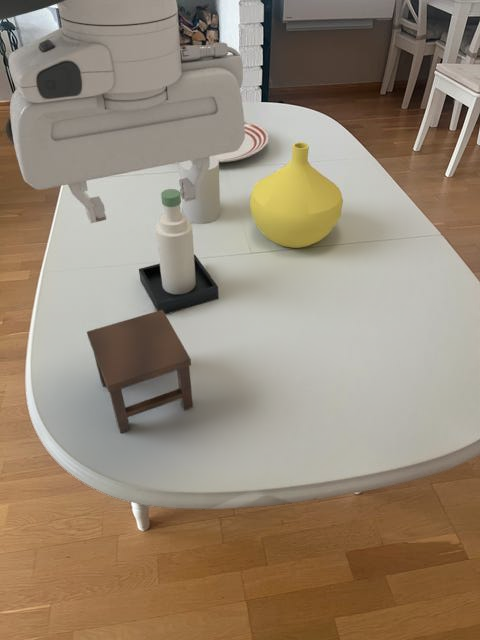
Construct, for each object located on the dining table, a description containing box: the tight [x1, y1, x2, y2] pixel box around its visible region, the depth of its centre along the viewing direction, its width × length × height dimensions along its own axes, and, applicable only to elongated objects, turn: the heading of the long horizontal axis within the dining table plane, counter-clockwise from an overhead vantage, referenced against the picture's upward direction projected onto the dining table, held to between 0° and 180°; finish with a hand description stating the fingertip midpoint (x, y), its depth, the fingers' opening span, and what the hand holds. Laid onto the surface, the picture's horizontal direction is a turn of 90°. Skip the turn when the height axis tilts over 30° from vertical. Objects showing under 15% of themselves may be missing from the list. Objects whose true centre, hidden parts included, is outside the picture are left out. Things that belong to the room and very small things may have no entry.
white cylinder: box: [178, 156, 221, 225], centre depth 110 cm, size 8×8×12 cm
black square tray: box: [138, 253, 219, 315], centre depth 93 cm, size 11×11×3 cm
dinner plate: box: [214, 119, 270, 164], centre depth 139 cm, size 27×27×3 cm
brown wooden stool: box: [86, 310, 194, 434], centre depth 73 cm, size 11×11×10 cm
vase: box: [249, 141, 344, 249], centre depth 102 cm, size 18×18×19 cm
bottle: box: [155, 188, 196, 294], centre depth 87 cm, size 6×6×18 cm
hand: (145, 208), depth 51 cm, fingers open, 8 cm apart
